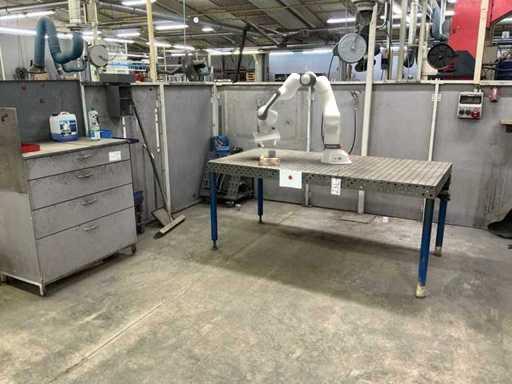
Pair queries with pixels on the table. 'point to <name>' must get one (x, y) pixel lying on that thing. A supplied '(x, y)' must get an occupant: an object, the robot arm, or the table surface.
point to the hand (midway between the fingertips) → (269, 146)
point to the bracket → (271, 154)
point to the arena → (269, 161)
